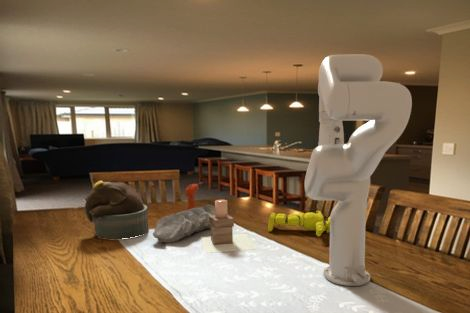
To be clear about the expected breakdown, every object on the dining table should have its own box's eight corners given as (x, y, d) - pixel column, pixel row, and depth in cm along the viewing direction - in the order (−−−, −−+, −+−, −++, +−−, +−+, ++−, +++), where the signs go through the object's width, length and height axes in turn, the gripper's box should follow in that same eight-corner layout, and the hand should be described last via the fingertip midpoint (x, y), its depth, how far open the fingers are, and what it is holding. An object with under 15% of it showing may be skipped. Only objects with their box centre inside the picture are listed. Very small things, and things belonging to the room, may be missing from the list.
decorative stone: (197, 222, 163) (196, 200, 163) (225, 227, 155) (225, 204, 154) (143, 242, 136) (142, 216, 136) (173, 249, 128) (173, 221, 127)
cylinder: (228, 218, 132) (228, 201, 131) (216, 219, 131) (215, 202, 130) (226, 215, 136) (226, 199, 136) (214, 216, 135) (214, 200, 135)
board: (258, 251, 126) (258, 248, 126) (205, 255, 122) (205, 252, 122) (246, 235, 143) (246, 233, 143) (200, 238, 140) (200, 236, 140)
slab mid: (232, 235, 131) (232, 227, 131) (213, 236, 130) (213, 228, 130) (229, 230, 138) (229, 222, 138) (210, 231, 137) (210, 223, 137)
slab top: (233, 226, 132) (233, 218, 132) (215, 228, 129) (215, 220, 129) (226, 221, 138) (226, 214, 138) (209, 223, 136) (208, 215, 135)
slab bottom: (232, 243, 132) (232, 235, 131) (213, 244, 130) (213, 236, 130) (229, 237, 138) (229, 230, 138) (210, 239, 137) (210, 231, 137)
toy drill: (207, 204, 193) (206, 177, 190) (193, 217, 176) (191, 187, 173) (199, 204, 195) (197, 176, 192) (183, 216, 177) (181, 187, 174)
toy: (263, 240, 138) (346, 252, 132) (266, 216, 137) (349, 227, 131) (272, 220, 167) (340, 229, 161) (274, 200, 166) (343, 208, 160)
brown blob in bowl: (72, 237, 143) (69, 182, 141) (119, 222, 165) (118, 174, 163) (115, 246, 132) (112, 186, 130) (159, 228, 154) (158, 177, 152)
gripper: (354, 116, 115) (353, 171, 116) (329, 118, 132) (328, 165, 133) (331, 117, 113) (330, 172, 115) (309, 118, 130) (309, 166, 132)
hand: (329, 168), depth 124 cm, fingers open, 9 cm apart
